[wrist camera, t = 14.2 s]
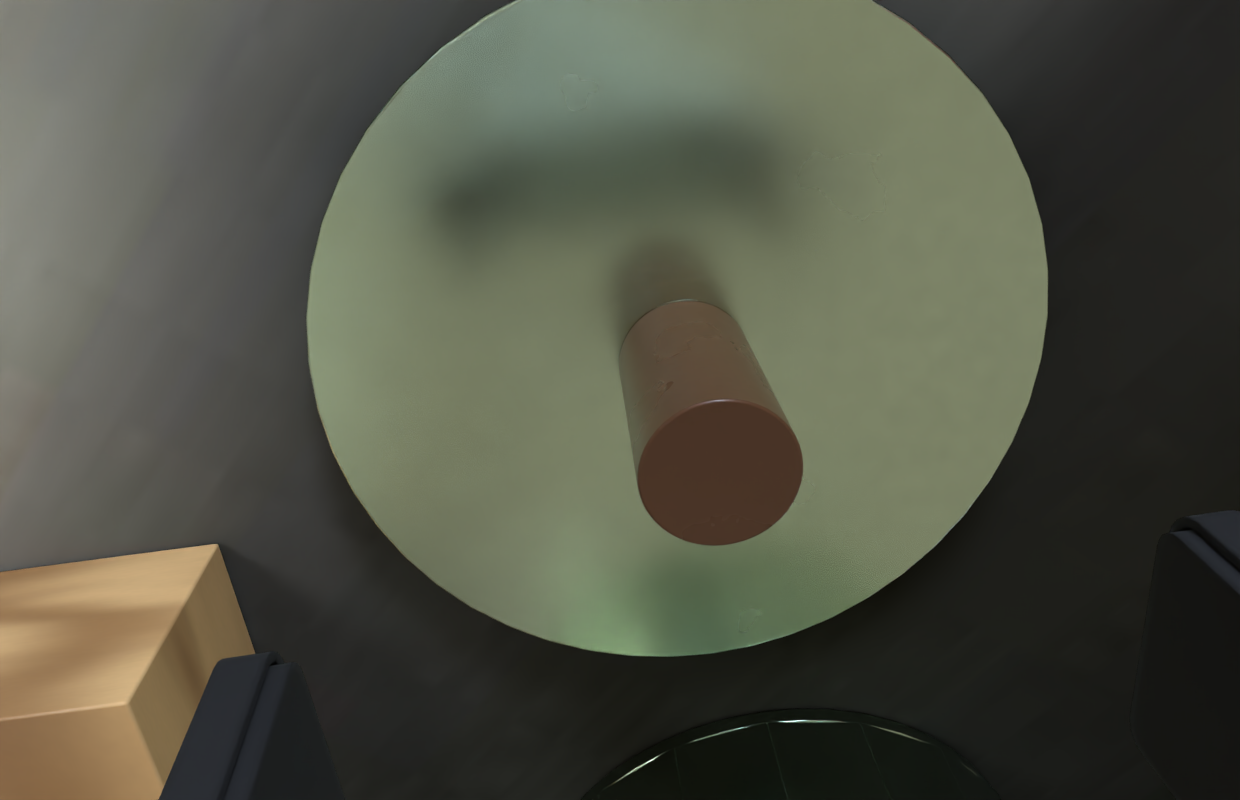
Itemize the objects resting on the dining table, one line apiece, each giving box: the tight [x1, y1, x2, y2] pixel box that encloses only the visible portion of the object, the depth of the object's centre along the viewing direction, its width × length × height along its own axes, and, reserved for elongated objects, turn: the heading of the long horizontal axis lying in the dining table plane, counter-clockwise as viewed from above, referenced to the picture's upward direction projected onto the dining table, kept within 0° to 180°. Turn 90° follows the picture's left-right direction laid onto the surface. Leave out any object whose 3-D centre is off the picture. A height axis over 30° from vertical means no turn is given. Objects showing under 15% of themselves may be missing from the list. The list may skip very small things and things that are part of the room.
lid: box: [306, 0, 1048, 657], centre depth 19 cm, size 16×16×6 cm
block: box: [0, 544, 255, 800], centre depth 22 cm, size 6×6×6 cm
